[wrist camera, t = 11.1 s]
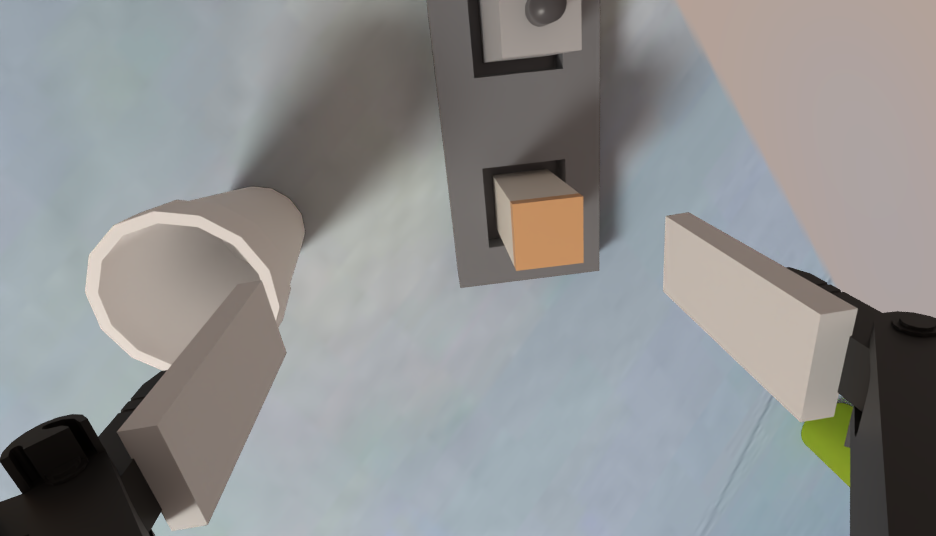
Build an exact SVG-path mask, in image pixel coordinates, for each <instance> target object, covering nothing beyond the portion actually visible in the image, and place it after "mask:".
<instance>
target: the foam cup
mask: <svg viewBox="0 0 936 536" xmlns="http://www.w3.org/2000/svg"><path fill="white" fill-rule="evenodd" d="M304 235H305V228H304V223H303V219H302V215H301V213H300V211H299V210H298V209H297V208H296V206H295V205H294V204H293V202H292V201H291V200H290V199H289V198H288V197H286V196H284V195H282V194H281V193H279V192H277V191H275V190H273V189H271V188H262V187H246V188H242V189H238V190H233V191H229V192H225V193H221V194H216V195H212V196H208V197H203V198H199V199H195V200H190V201H184V200H174V201H172V202H169V203H166V204H163V205H160V206H158V207H155V208H152V209H149V210H146V211H144V212H141V213H138V214H136V215H134V216H132V217H130V218H128V219H126V220H124V221H122V222H120V223H118V224H115V225H113V227H112V228H111V229H110V230H109V231H108V233H107V234H106V235H105V236H104V237H103V239H102V240H101V241H100V242H99V243H98V245H97V246H96V247H95V248H94V249H93V251H92V252H91V253H90V254H89V259H88V269H87V279H86V288H85V293H86V295H87V298H88V300H89V302H90V305H91V307H92V309H93V311H94V314H95V316H96V318H97V321H98V323H99V325H100V328H101V329H102V330H103V331H104V332H105V333H106V334H107V335H108V336H109V337H110V338H112V339H113V340H114V341H115V342H116V343H117V344H118V345H119V346H120V347H121V348H122V349H123V350H124V351H125V352H127V353H128V354H129V355H130V356H131V357H132V358H134V359H137V360H139V361H141V362H144V363H146V364H148V365H151V366H153V367H155V368H158V369H160V370H163V371H165V370H168V369H169V367H170V366H171V365H172V364H173V362H174V361H175V360H176V359H177V358H178V356H179V355H180V354H181V353H182V351H183V350H184V349H185V348H186V347H187V345H188V344H189V343H190V342H191V340H192V339H193V338H194V337H195V336H196V334H197V333H198V332H199V331H200V329H201V328H202V327H203V326H204V325H205V323H206V322H207V321H208V320H209V318H210V317H211V316H212V315H213V314H214V312H215V311H216V310H217V309H218V307H219V306H220V305H221V304H222V302H223V301H224V300H225V299H226V298H227V296H228V295H229V294H230V293H231V291H232V290H233V289H234V288H235V287H236V285H237V284H241V283H247V282H253V281H260V280H262V282H263V285H264V288H265V291H266V294H267V297H268V300H269V303H270V306H271V309H272V311H273V314H274V317H275V320H276V323H277V326H278V327H279V326H280V324H281V322H282V321H283V317H284V313H285V310H286V306H287V302H288V298H289V294H290V290H291V287H290V283H291V280H292V276H293V273H294V270H295V267H296V263H297V260H298V257H299V253H300V250H301V246H302V242H303V239H304Z"/></svg>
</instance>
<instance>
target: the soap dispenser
mask: <svg viewBox="0 0 936 536" xmlns="http://www.w3.org/2000/svg"><path fill="white" fill-rule="evenodd" d="M852 410H853V407H852V406H850V405H848V404H845V403H837V405H836V409H835V414H834V417H829V418H823V419H817V420H811V421H805V423H804V425H803V428H802V432H801V436H802V440H803V442H804V443H805V444H806V445H807V446H808V447H809V448H810V449H811V450H812V451H813V452H814V453H815V454H816V455H817V456H818V457H819V458H820V459H821V460H822V461H823V462H824V463H825V464H826V465H827V466H828V467H829V468H830V469H831V470H832V471H833V472H834V473H835V474H837V475H838V476H839V477H840V478H841V479H842V480H843V481H844V482H845V483H846V484H847V485H848V486H849V487H850V448H849V447H845V446H844V443H845V439H846V435H847V431H848V427H849V423H850V418H851V414H852Z"/></svg>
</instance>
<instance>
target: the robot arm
mask: <svg viewBox="0 0 936 536" xmlns="http://www.w3.org/2000/svg"><path fill="white" fill-rule="evenodd" d="M663 292H664V293H666V294H667V295H668V296H669V297H670V298H671V299H672V300H673V301H674V302H675V303H676V304H677V305H678V306H679V307H680V308H681V309H682V310H683V311H684V312H685V313H686V314H688V315H689V316H690V317H691V318H692V319H693V320H694V321H695V322H696V323H697V324H698V325H699V326H700V327H701V328H702V329H703V330H704V331H705V332H706V333H707V334H708V335H710V336H711V337H712V338H713V339H714V340H715V341H716V342H717V343H718V344H719V345H720V346H721V347H722V348H723V349H724V350H725V351H726V352H727V353H728V354H729V355H731V356H732V357H733V358H734V359H735V360H736V361H737V362H738V363H739V364H740V365H741V366H742V367H743V368H744V369H745V370H746V371H747V372H748V373H749V374H750V375H751V376H753V377H754V378H755V379H756V380H757V381H758V382H759V383H760V384H761V385H762V386H763V387H764V388H765V389H766V390H767V391H768V392H769V393H770V394H771V395H772V396H773V397H775V398H776V399H777V400H778V401H779V402H780V403H781V404H782V405H783V406H784V407H785V408H786V409H787V410H788V411H789V412H790V413H791V414H792V415H793V416H794V417H795V418H797V419H798V420H799V421H800V422H805V421H811V420H817V419H823V418H829V417H834V414H835V409H836V405H837V400H838V396H839V394H840V395H841V396H843V397H844V398H845V399H846V400H848V401H849V402H850V403H851V404H853V405H854V406H853V410H852V414H851V418H850V423H849V427H848V431H847V435H846V439H845V443H844V446H845V447H849V448H850V536H936V318H933V317H931V316H927V315H922V314H917V313H910V312H898V311H897V312H887V313H881V312H880V311H878V310H876V309H874V308H872V307H870V306H868V305H867V304H865V303H863V302H861V301H860V300H857V299H856V298H854V297H852V296H850V295H849V294H847V293H845V292H841V291H840V290H839V289H838V288H836V287H834V286H832V285H827V282H825V281H823V280H821V279H819V278H818V277H816V276H814V275H812V274H810V273H807V272H803V271H800V270H797V269H793V268H790V267H787V268H786V267H784V266H782V265H780V264H779V263H777V262H775V261H773V260H772V259H770V258H768V257H766V256H764V255H763V254H761V253H759V252H757V251H756V250H754V249H752V248H750V247H749V246H747V245H745V244H743V243H742V242H740V241H738V240H736V239H735V238H733V237H731V236H729V235H728V234H726V233H724V232H722V231H721V230H719V229H717V228H715V227H713V226H712V225H710V224H708V223H706V222H705V221H703V220H701V219H699V218H698V217H696V216H694V215H692V214H691V213H689V212H688V213H681V214H675V215H669V216H666V220H665V249H664V278H663ZM286 353H287V352H286V349H285V347H284V344H283V341H282V338H281V335H280V332H279V329H278V326H277V323H276V320H275V317H274V314H273V311H272V309H271V306H270V303H269V300H268V297H267V294H266V291H265V288H264V285H263V282H262V280H260V281H253V282H247V283H241V284H237V285H236V287H235V288H234V289H233V290H232V291H231V293H230V294H229V295H228V296H227V298H226V299H225V300H224V301H223V302H222V304H221V305H220V306H219V307H218V309H217V310H216V311H215V312H214V314H213V315H212V316H211V317H210V318H209V320H208V321H207V322H206V323H205V325H204V326H203V327H202V328H201V329H200V331H199V332H198V333H197V334H196V336H195V337H194V338H193V339H192V340H191V342H190V343H189V344H188V345H187V347H186V348H185V349H184V350H183V351H182V353H181V354H180V355H179V356H178V358H177V359H176V360H175V361H174V362H173V364H172V365H171V366H170V367H169V369H168V370H165V371H161V372H159V373H158V374H157V375H155V376H154V377H153V378H151V379H150V380H149V381H147V382H146V383H144V384H143V385H142V386H141V387H140V389H139V390H138V391H137V392H136V393H135V394H134V396H133V397H132V398H131V401H129V402H128V403H127V404H126V405H125V406H124V407H123V409H122V410H121V413H118V414H117V416H116V417H115V418H114V419H113V420H112V421H111V423H110V424H109V425H108V426H107V427H106V428H105V430H104V431H103V432H102V433H101V434H100V435H99V437H98V436H97V434H96V433H95V431H94V429H93V428H92V426H91V424H90V422H89V421H88V419H87V418H86V417H84V416H83V415H76V414H71V415H67V416H62V417H58V418H55V419H52V420H50V421H47V422H45V423H42V424H40V425H38V426H36V427H35V428H33V429H31V430H29V431H27V432H25V433H24V434H23V435H21V436H20V437H18V438H17V439H16V440H14V441H13V442H12V443H11V444H10V445H9V446H8V447H7V448H6V449H5V450H4V451H3V452H2V454H1V457H0V463H1V464H2V465H3V467H4V468H5V470H6V471H7V472H8V474H9V475H10V477H11V478H12V480H13V481H14V482H15V484H16V485H17V487H18V488H19V489H20V491H21V492H22V494H21V495H18V496H15V497H13V498H10V499H7V500H4V501H2V502H0V536H155V534H154V533H153V531H152V529H151V528H152V526H153V525H154V523H155V521H156V519H157V518H158V516H159V514H160V513H161V512H162V514H163V516H164V518H165V520H166V521H167V523H168V525H169V527H170V529H171V530H172V531H175V530H181V529H187V528H193V527H198V526H204V525H208V523H209V521H210V519H211V517H212V515H213V512H214V510H215V508H216V506H217V504H218V501H219V499H220V497H221V495H222V493H223V491H224V488H225V486H226V484H227V482H228V480H229V477H230V475H231V473H232V471H233V469H234V467H235V464H236V462H237V460H238V458H239V456H240V453H241V451H242V449H243V447H244V445H245V442H246V440H247V438H248V436H249V434H250V432H251V429H252V427H253V425H254V423H255V421H256V418H257V416H258V414H259V412H260V410H261V408H262V405H263V403H264V401H265V399H266V397H267V394H268V392H269V390H270V388H271V386H272V384H273V381H274V379H275V377H276V375H277V373H278V370H279V368H280V366H281V364H282V362H283V359H284V357H285V355H286Z"/></svg>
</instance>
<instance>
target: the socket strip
mask: <svg viewBox="0 0 936 536" xmlns="http://www.w3.org/2000/svg"><path fill="white" fill-rule="evenodd" d="M427 9H428V18H429V26H430V35H431V43H432V52H433V61H434V69H435V78H436V87H437V95H438V104H439V112H440V121H441V130H442V138H443V147H444V155H445V164H446V173H447V181H448V190H449V198H450V207H451V216H452V224H453V233H454V241H455V250H456V259H457V267H458V276H459V282H460V288H464V287H472V286H480V285H488V284H496V283H504V282H512V281H520V280H528V279H536V278H544V277H552V276H560V275H568V274H576V273H584V272H592V271H599V182H600V0H581V29H582V50H579V51H573V52H567V53H561V54H555V55H549V56H543V57H534V58H525V59H516V60H506V61H497V62H488V63H483V53H482V41H481V29H480V16H479V4H478V0H427ZM543 169H548V170H549V171H551V172H552V173H553V174H554V175H556V176H557V177H558V178H560V179H561V180H562V181H564V182H565V183H566V184H568V185H569V186H570V187H572V188H573V189H574V190H576V191H577V192H578V193H580V194H581V195H582V196H583V241H584V263H578V264H570V265H561V266H553V267H545V268H536V269H528V270H520V271H516V269H515V267H514V265H513V262H512V260H511V258H510V256H509V254H508V252H507V250H506V248H505V245H504V243H503V241H502V239H501V237H500V235H499V233H498V230H497V228H496V216H495V202H494V189H493V176H492V175H498V174H507V173H516V172H525V171H534V170H543Z"/></svg>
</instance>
